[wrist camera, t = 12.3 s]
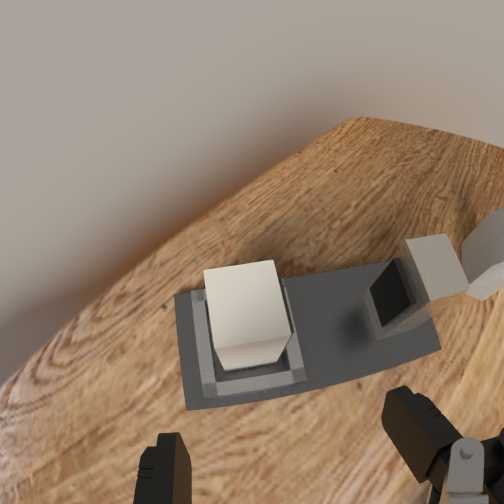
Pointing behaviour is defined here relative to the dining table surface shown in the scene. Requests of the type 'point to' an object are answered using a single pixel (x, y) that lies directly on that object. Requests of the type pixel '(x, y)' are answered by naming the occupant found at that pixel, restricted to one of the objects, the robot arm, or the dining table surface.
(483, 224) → the grey gabled block
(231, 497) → the dining table surface
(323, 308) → the rail
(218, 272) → the white rectangular block
